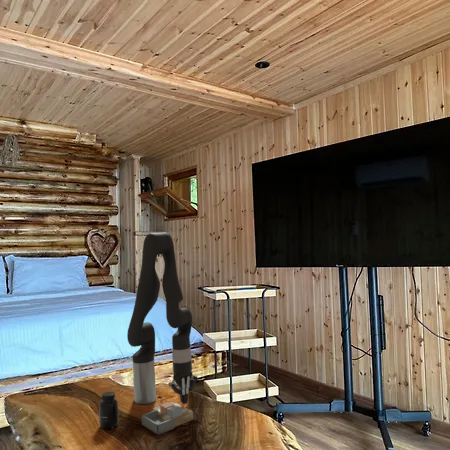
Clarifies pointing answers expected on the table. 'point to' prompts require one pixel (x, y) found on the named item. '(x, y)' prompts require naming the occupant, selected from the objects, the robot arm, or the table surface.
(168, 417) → the board
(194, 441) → the table surface
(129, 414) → the table surface
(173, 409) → the blue gray block
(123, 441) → the table surface
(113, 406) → the supplement bottle
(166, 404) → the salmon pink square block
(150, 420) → the tray
